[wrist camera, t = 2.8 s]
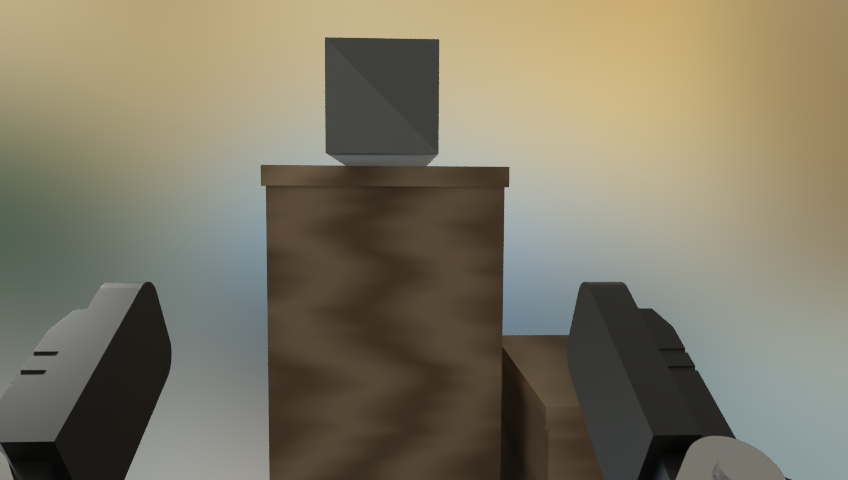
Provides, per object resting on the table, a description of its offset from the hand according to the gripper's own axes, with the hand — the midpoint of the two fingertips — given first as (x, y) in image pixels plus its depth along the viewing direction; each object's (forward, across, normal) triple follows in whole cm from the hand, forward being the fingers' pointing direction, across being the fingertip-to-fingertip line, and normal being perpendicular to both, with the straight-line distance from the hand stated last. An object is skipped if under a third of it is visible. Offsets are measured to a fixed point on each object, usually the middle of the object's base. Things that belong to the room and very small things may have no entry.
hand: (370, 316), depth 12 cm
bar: (+21, 0, +8) cm, 23 cm away
